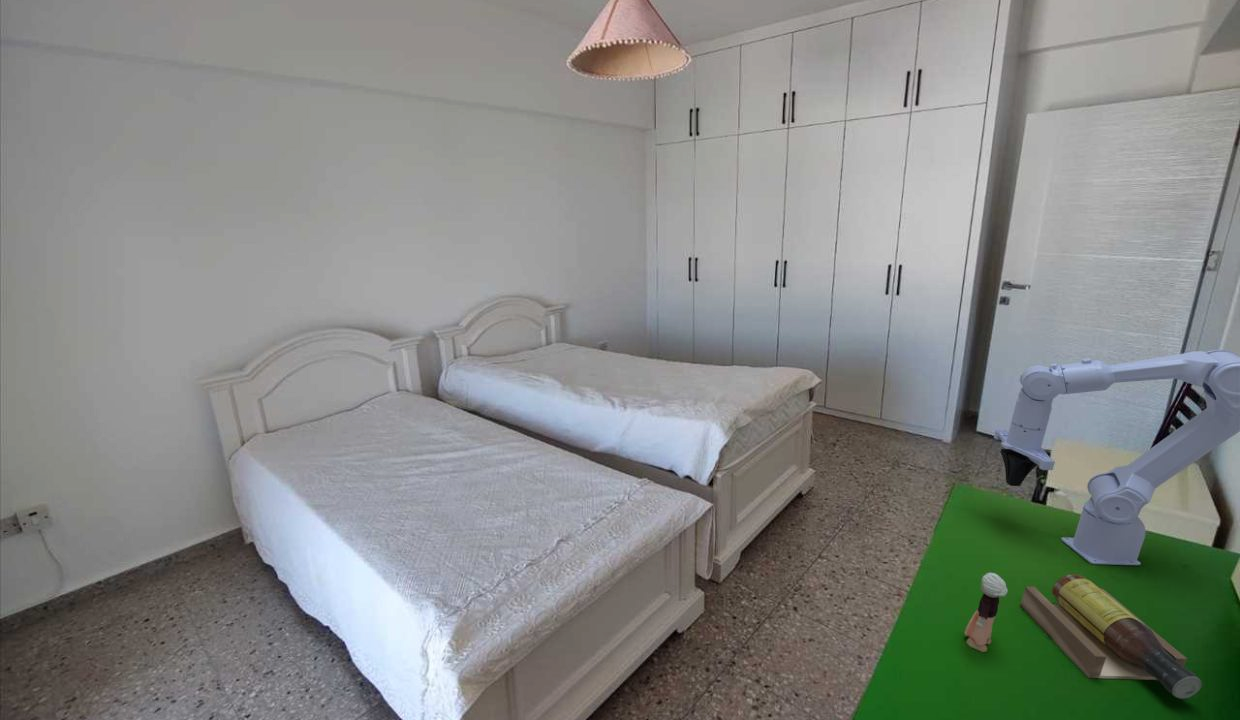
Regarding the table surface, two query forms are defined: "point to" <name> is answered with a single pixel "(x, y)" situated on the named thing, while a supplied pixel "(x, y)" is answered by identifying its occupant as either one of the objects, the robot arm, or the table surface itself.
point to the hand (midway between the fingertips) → (1013, 484)
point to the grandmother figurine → (985, 612)
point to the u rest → (1085, 640)
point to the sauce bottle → (1123, 633)
